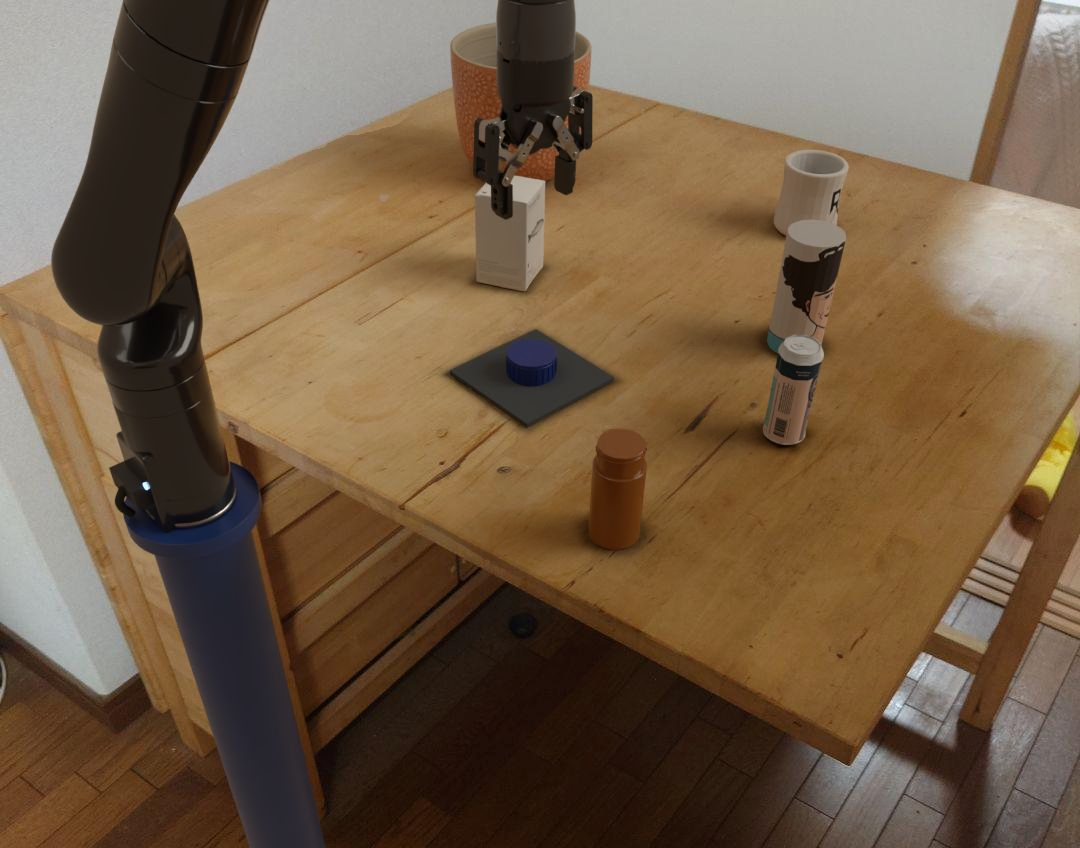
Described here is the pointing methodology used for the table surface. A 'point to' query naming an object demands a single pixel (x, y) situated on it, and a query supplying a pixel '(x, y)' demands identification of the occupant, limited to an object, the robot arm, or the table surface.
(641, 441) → the jar
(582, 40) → the planter
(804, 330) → the white cylindrical canister
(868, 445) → the table surface
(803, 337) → the beer can
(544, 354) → the jar lid
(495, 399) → the mat
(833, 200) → the mug
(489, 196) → the white packaging box
